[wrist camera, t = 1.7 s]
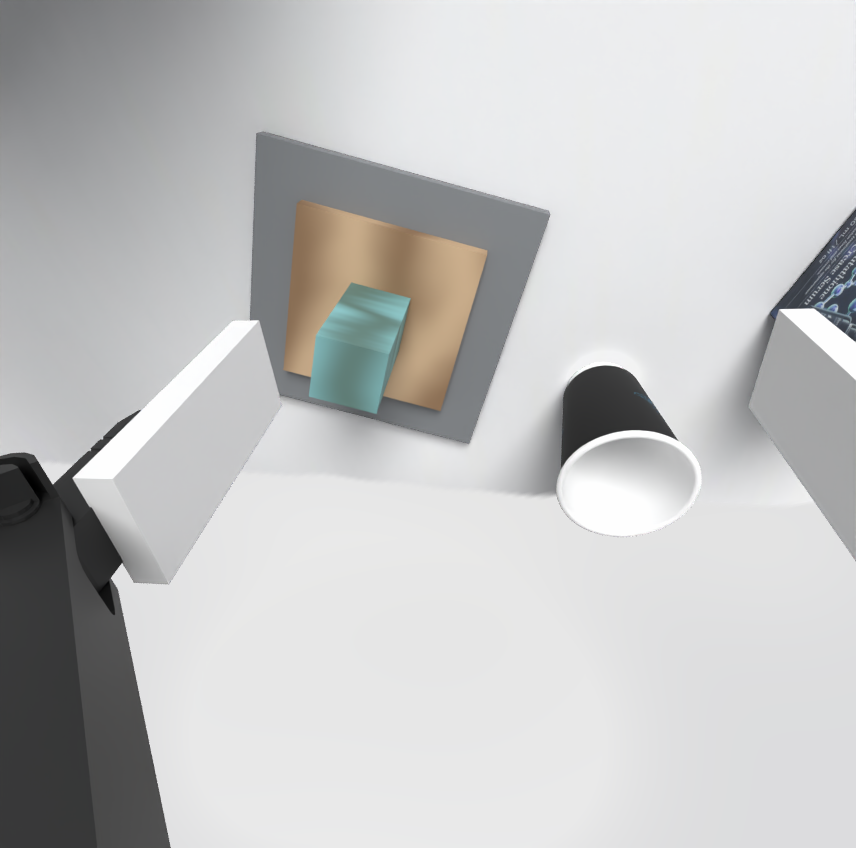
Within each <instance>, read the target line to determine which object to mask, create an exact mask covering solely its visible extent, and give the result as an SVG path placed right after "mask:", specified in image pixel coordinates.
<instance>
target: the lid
mask: <svg viewBox="0 0 856 848" xmlns="http://www.w3.org/2000/svg"><path fill="white" fill-rule="evenodd" d="M486 257H487V250H484V249H480V248H477V247H473V246H469V245H466V244H462V243H458V242H455V241H451V240H447V239H444V238H440V237H436V236H433V235H429V234H426V233H422V232H418V231H415V230H411V229H407V228H404V227H400V226H396V225H393V224H389V223H385V222H382V221H378V220H374V219H371V218H367V217H363V216H360V215H356V214H352V213H349V212H345V211H341V210H338V209H334V208H330V207H327V206H323V205H319V204H316V203H312V202H308V201H305V200H301V201H299V202H298V203H297V206H296V218H295V231H294V243H293V256H292V268H291V281H290V293H289V306H288V318H287V331H286V343H285V356H284V368H283V370H285V371H289V372H293V373H297V374H301V375H305V376H308V377H311V382H310V391H309V397H313V398H317V399H320V400H324V401H328V402H332V403H336V404H340V405H344V406H347V407H351V408H355V409H359V410H363V411H367V412H370V413H374V414H377V411H378V408H379V405H380V403H381V400H382V397H383V396H385V397H389V398H393V399H396V400H400V401H404V402H408V403H412V404H416V405H419V406H423V407H427V408H431V409H435V410H439V411H441V407H442V404H443V401H444V397H445V394H446V391H447V387H448V384H449V381H450V377H451V374H452V371H453V367H454V364H455V361H456V357H457V354H458V351H459V347H460V344H461V341H462V337H463V334H464V331H465V327H466V324H467V321H468V317H469V314H470V311H471V307H472V304H473V301H474V297H475V294H476V291H477V287H478V284H479V281H480V277H481V274H482V271H483V267H484V264H485V261H486Z"/></svg>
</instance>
